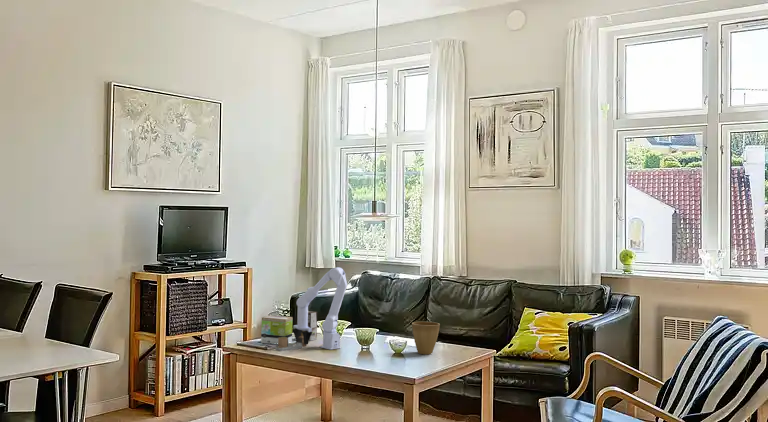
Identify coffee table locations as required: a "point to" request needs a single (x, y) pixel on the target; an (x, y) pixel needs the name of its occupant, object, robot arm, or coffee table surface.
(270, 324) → the tea box
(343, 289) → the robot arm
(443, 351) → the coffee table surface
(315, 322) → the coffee box
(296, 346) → the rail
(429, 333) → the plant pot
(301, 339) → the block
